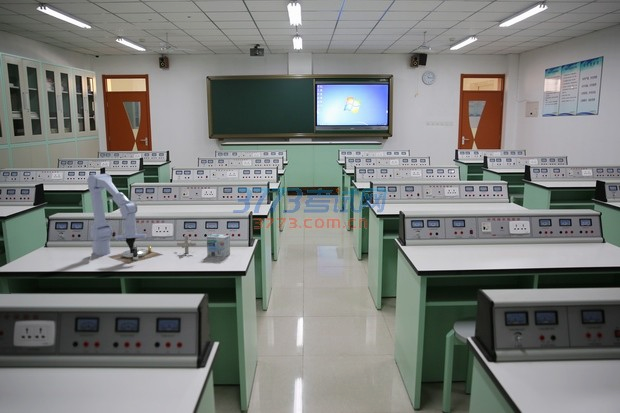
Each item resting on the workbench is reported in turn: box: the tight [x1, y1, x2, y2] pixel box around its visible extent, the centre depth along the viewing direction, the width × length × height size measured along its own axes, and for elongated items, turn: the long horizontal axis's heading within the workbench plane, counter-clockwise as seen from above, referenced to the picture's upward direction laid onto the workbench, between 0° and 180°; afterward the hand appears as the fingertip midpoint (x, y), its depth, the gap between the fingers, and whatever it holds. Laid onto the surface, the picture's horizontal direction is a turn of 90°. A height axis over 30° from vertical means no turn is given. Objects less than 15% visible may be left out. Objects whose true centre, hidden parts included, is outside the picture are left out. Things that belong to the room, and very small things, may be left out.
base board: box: [108, 248, 164, 265], centre depth 234 cm, size 20×20×1 cm
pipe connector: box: [176, 234, 197, 254], centre depth 242 cm, size 10×10×10 cm
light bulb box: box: [206, 233, 231, 258], centre depth 238 cm, size 11×7×11 cm, turn 76°
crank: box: [121, 247, 147, 260], centre depth 232 cm, size 16×12×6 cm
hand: (131, 252), depth 225 cm, fingers closed
